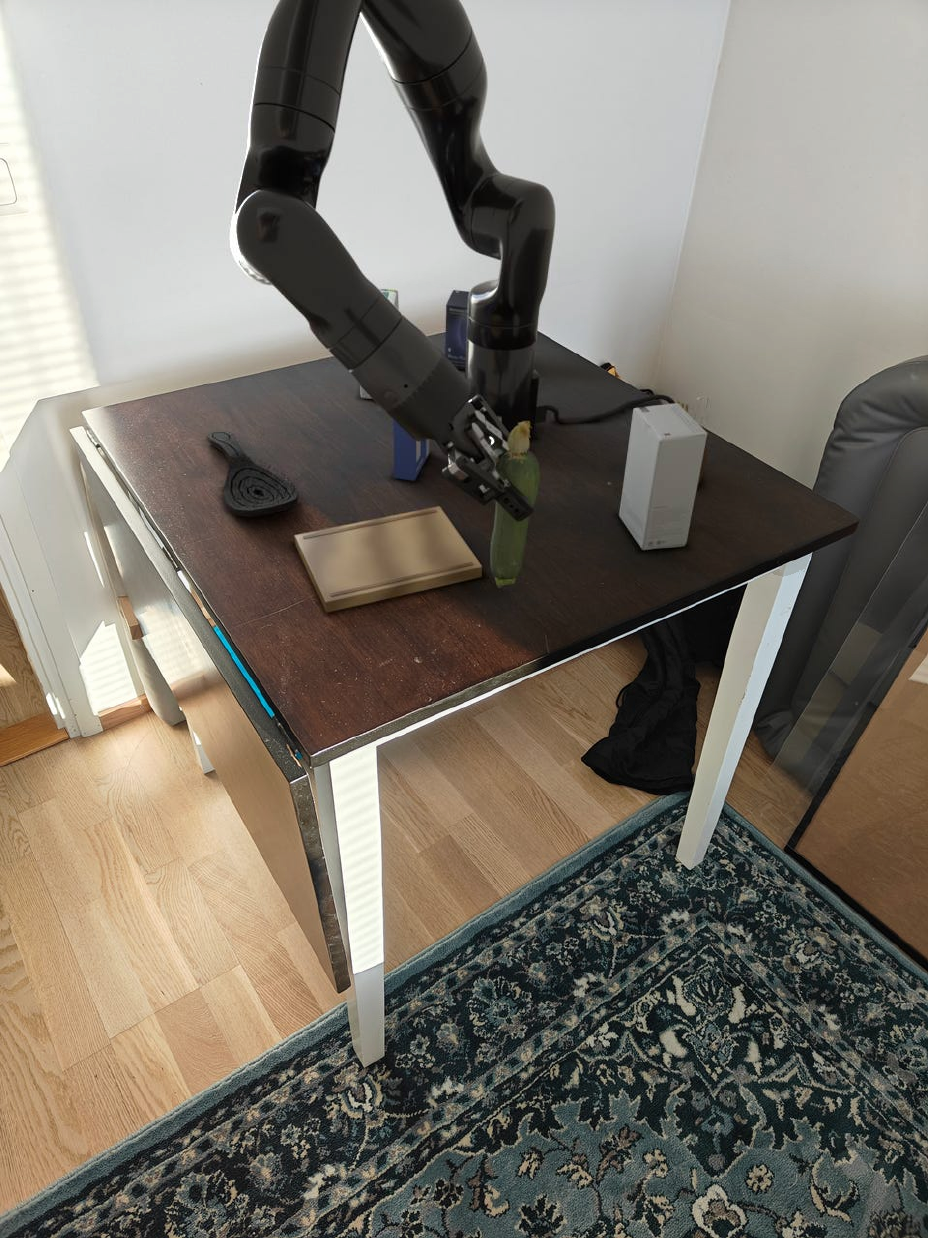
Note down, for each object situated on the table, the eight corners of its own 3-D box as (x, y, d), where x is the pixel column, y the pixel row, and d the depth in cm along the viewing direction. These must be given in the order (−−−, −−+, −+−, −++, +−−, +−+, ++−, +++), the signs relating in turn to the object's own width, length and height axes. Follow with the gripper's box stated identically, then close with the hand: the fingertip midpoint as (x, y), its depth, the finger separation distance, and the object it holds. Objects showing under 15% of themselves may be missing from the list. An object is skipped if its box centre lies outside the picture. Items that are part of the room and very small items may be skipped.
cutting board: (439, 516, 107) (439, 505, 106) (481, 577, 98) (482, 565, 97) (295, 545, 101) (294, 534, 100) (326, 613, 92) (325, 601, 91)
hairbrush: (241, 410, 120) (309, 490, 103) (245, 435, 122) (312, 517, 105) (181, 423, 116) (241, 508, 99) (186, 448, 119) (246, 535, 102)
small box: (442, 369, 138) (444, 303, 132) (450, 352, 143) (451, 288, 136) (508, 376, 137) (513, 310, 130) (513, 359, 142) (518, 294, 135)
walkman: (414, 481, 113) (414, 395, 105) (394, 478, 113) (392, 392, 105) (430, 452, 118) (431, 368, 111) (410, 449, 119) (410, 365, 111)
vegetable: (486, 569, 96) (497, 404, 83) (524, 569, 97) (542, 403, 83) (490, 595, 93) (503, 426, 80) (530, 594, 93) (549, 426, 80)
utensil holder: (709, 478, 116) (730, 394, 108) (683, 496, 112) (703, 411, 104) (671, 461, 119) (689, 379, 111) (645, 478, 115) (662, 394, 107)
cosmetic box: (686, 547, 104) (713, 435, 94) (638, 552, 102) (661, 439, 93) (658, 508, 110) (682, 399, 100) (614, 513, 109) (633, 403, 99)
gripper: (426, 389, 73) (554, 522, 80) (450, 323, 84) (561, 445, 91) (367, 439, 77) (494, 562, 84) (396, 370, 88) (507, 484, 95)
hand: (528, 500), depth 88 cm, fingers closed on vegetable, 4 cm apart
